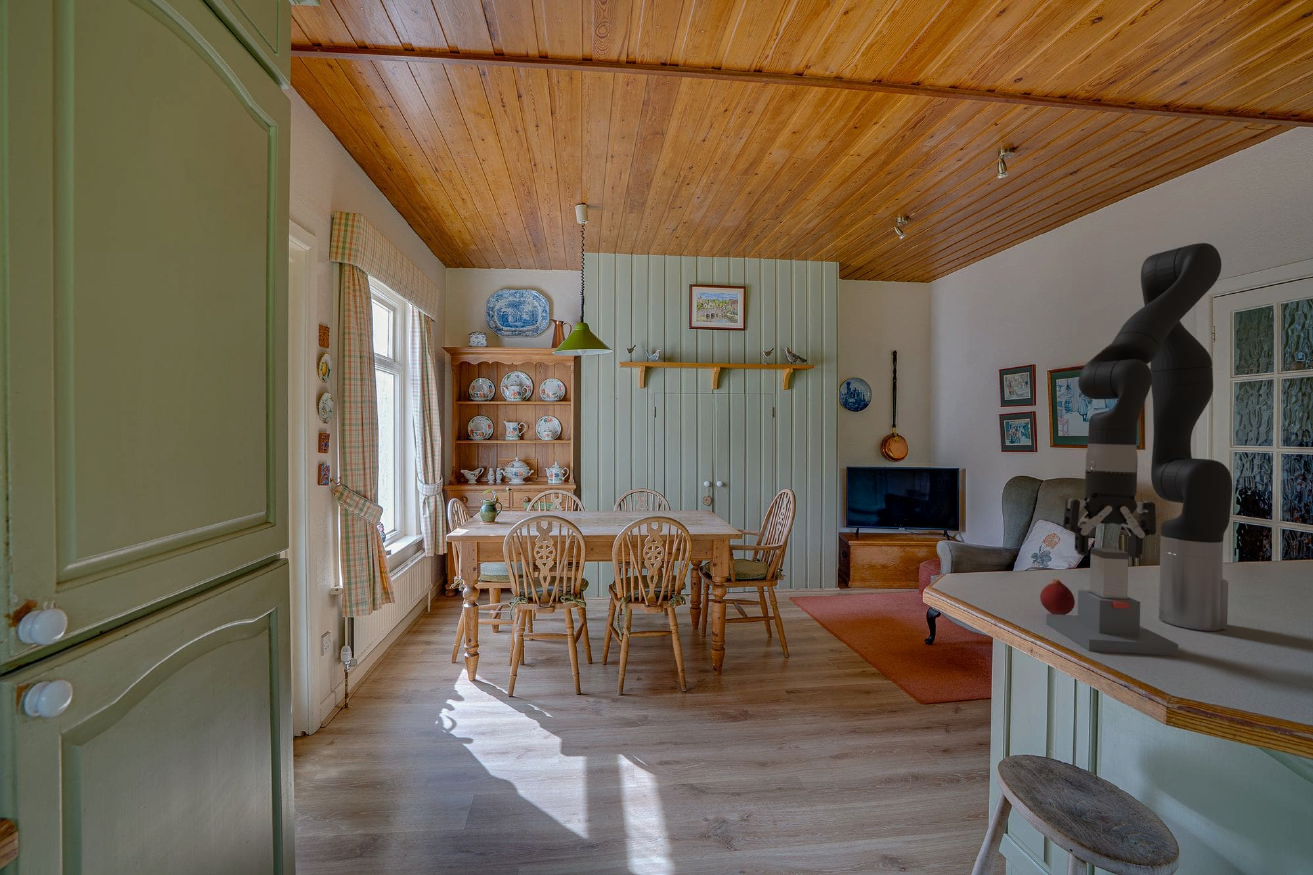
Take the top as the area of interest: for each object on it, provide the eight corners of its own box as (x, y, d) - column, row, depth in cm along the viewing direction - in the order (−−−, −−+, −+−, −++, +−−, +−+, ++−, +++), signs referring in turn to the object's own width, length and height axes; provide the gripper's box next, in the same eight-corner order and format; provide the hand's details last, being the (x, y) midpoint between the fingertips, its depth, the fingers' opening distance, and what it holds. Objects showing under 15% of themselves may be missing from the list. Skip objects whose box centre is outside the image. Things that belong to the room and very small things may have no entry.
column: (1112, 623, 108) (1114, 548, 108) (1127, 631, 104) (1128, 552, 104) (1088, 622, 109) (1090, 547, 108) (1102, 630, 105) (1104, 552, 104)
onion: (1063, 613, 121) (1064, 575, 121) (1080, 622, 115) (1081, 583, 115) (1034, 612, 122) (1035, 574, 122) (1050, 621, 116) (1051, 581, 116)
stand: (1123, 627, 112) (1124, 587, 112) (1178, 655, 98) (1179, 609, 98) (1046, 623, 114) (1046, 583, 114) (1089, 650, 100) (1089, 605, 100)
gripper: (1139, 468, 109) (1136, 554, 109) (1057, 466, 111) (1054, 549, 111) (1168, 471, 101) (1165, 563, 102) (1080, 468, 103) (1077, 558, 104)
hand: (1107, 556), depth 106 cm, fingers open, 8 cm apart
